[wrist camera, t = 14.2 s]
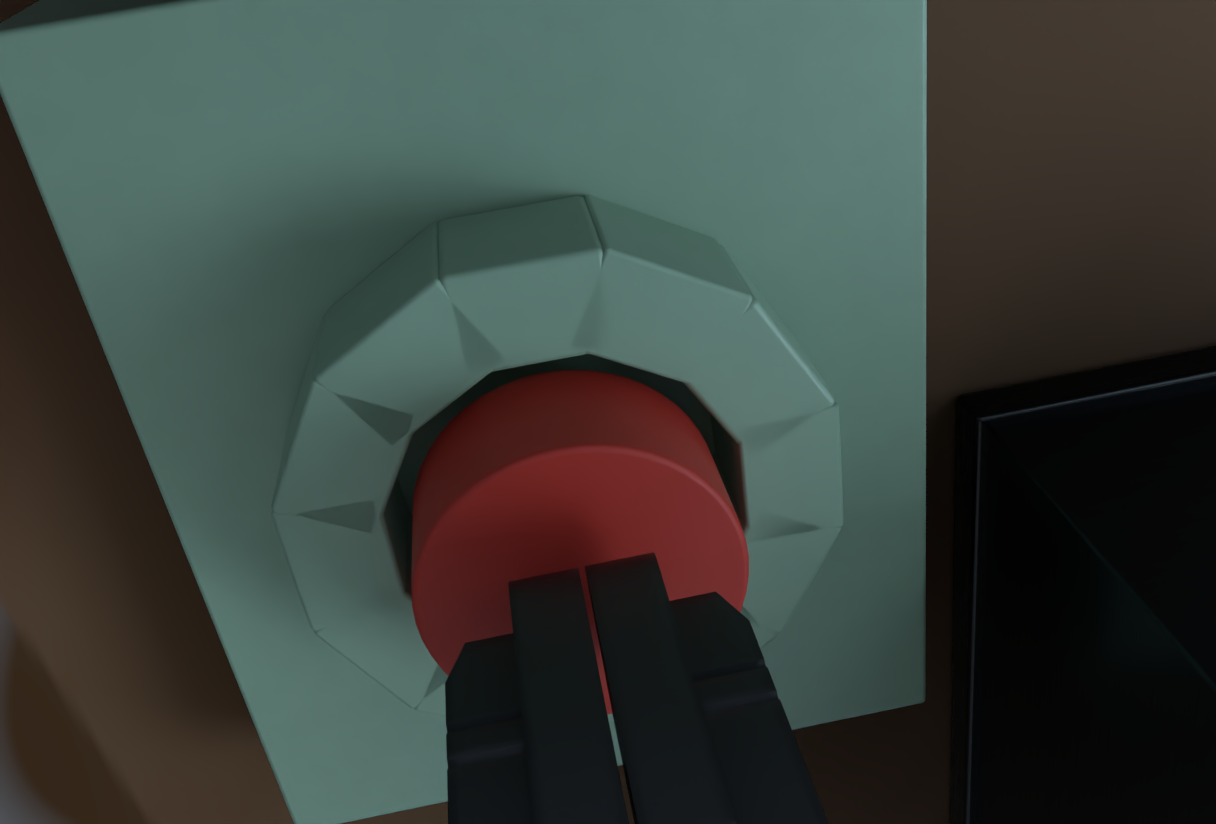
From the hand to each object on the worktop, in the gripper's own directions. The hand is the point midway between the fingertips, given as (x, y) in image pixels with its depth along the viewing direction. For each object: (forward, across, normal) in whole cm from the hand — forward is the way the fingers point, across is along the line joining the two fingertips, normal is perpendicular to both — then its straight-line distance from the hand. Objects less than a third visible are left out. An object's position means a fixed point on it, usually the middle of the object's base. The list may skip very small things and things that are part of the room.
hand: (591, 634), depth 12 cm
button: (+2, 0, 0) cm, 2 cm away
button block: (+6, 0, 0) cm, 6 cm away
